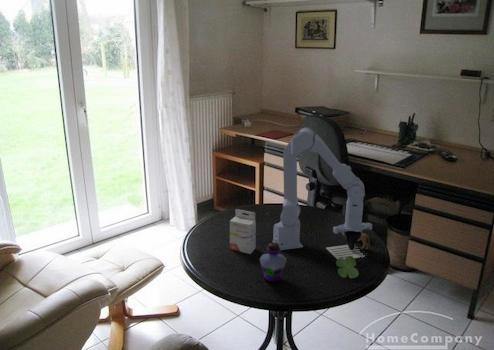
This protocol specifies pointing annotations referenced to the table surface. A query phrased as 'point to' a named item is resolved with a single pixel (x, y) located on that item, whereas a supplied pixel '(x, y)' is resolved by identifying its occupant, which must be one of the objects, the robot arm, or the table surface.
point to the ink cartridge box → (243, 232)
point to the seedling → (347, 267)
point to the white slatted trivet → (345, 252)
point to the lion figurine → (364, 240)
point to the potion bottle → (273, 263)
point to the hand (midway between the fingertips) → (351, 249)
